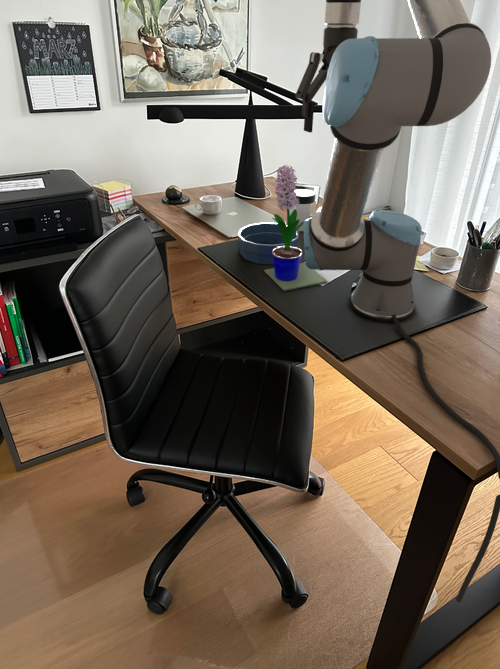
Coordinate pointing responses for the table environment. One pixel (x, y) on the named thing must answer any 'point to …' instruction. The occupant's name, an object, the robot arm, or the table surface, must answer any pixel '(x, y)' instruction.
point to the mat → (298, 278)
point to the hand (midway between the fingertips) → (331, 129)
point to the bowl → (261, 251)
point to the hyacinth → (287, 227)
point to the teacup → (210, 204)
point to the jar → (304, 205)
